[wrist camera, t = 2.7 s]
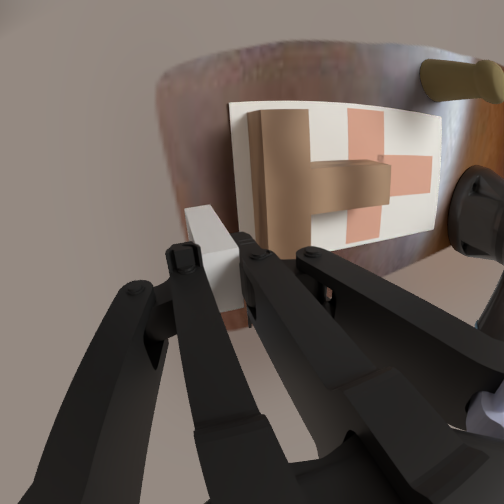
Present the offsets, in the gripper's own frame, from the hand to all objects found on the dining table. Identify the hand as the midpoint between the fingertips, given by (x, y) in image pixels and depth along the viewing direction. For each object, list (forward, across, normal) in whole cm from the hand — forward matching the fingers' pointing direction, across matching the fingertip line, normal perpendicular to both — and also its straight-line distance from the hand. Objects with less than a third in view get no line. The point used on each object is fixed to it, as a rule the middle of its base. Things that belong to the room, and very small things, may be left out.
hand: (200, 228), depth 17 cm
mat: (+9, -18, 0) cm, 21 cm away
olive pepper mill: (+10, -32, -13) cm, 35 cm away
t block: (+9, -12, 0) cm, 15 cm away
